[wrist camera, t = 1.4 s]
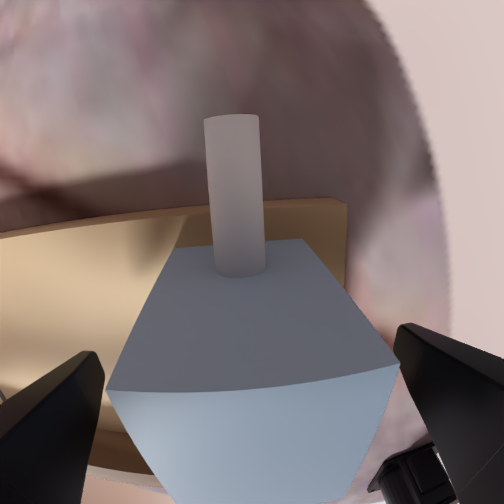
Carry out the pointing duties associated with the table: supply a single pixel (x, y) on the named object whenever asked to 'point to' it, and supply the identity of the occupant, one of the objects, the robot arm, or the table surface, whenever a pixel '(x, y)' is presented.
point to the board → (118, 295)
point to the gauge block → (250, 356)
